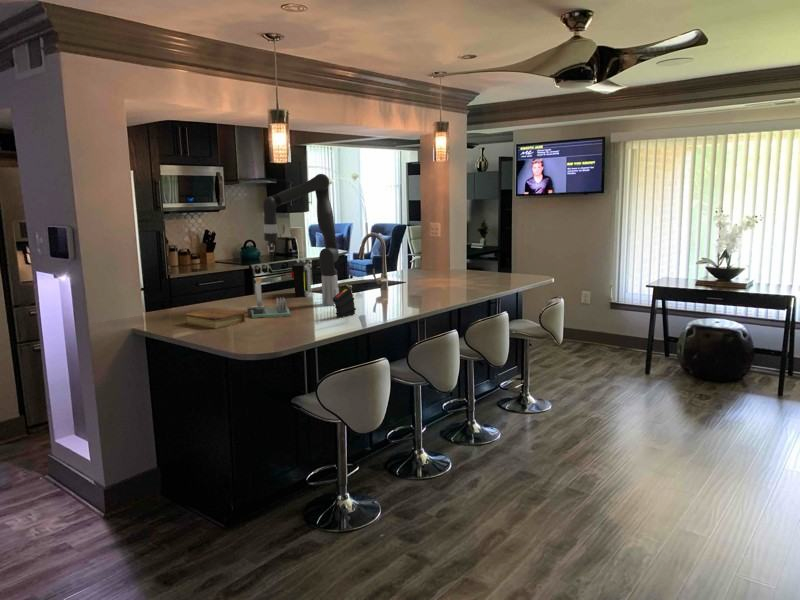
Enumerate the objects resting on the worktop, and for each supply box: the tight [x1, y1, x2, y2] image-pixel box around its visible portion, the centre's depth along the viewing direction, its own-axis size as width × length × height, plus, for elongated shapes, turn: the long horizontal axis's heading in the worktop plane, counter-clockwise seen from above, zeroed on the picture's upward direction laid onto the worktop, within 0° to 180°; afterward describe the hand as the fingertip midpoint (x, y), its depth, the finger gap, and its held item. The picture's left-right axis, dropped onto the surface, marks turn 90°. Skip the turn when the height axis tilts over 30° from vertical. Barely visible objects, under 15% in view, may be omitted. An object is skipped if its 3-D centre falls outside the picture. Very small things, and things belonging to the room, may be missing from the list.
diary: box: [184, 307, 246, 330], centre depth 305 cm, size 23×19×6 cm
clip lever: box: [251, 277, 265, 310], centre depth 332 cm, size 5×6×17 cm
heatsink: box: [247, 297, 287, 317], centre depth 329 cm, size 17×20×7 cm
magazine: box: [333, 286, 357, 318], centre depth 320 cm, size 4×13×15 cm, turn 138°
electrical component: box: [290, 261, 313, 298], centre depth 389 cm, size 18×10×20 cm, turn 179°
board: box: [251, 305, 292, 319], centre depth 329 cm, size 22×20×2 cm
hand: (271, 260), depth 348 cm, fingers open, 8 cm apart
